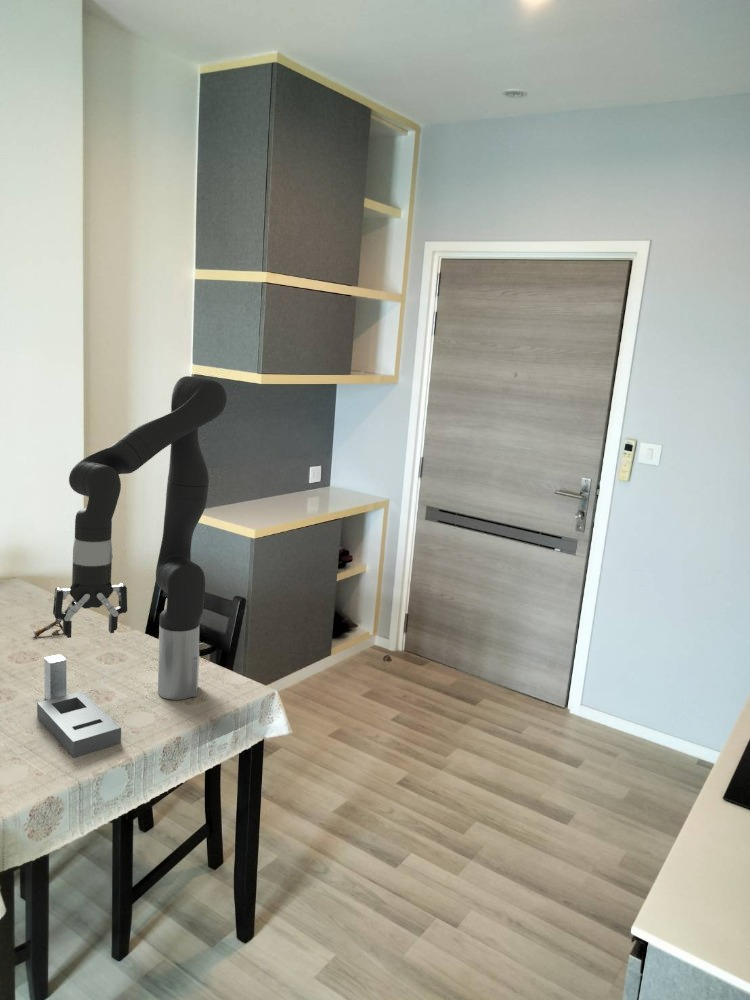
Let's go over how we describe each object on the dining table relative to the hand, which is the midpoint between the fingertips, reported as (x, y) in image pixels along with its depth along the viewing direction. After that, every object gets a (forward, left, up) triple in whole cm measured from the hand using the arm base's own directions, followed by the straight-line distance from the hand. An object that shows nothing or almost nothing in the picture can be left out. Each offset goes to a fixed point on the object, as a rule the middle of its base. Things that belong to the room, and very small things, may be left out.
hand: (90, 634), depth 158 cm
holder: (+2, 0, -22) cm, 22 cm away
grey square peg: (+10, -14, -22) cm, 28 cm away
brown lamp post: (+22, -52, -22) cm, 61 cm away
